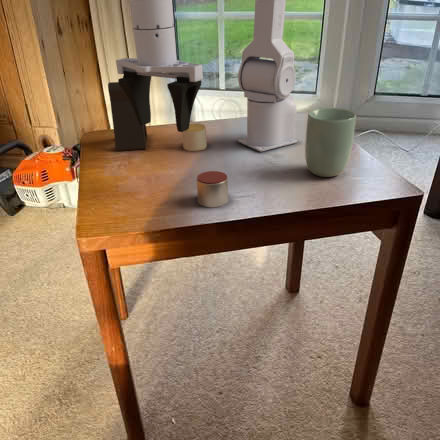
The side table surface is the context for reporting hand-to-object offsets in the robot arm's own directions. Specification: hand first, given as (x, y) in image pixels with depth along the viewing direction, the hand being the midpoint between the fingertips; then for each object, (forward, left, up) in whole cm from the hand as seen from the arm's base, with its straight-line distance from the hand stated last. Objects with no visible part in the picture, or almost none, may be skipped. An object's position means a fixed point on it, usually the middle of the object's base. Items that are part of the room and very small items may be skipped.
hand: (163, 126), depth 71 cm
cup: (-25, +11, -10) cm, 29 cm away
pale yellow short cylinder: (-13, -15, -10) cm, 22 cm away
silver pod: (-3, +9, -10) cm, 14 cm away
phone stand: (-4, -25, -10) cm, 27 cm away
